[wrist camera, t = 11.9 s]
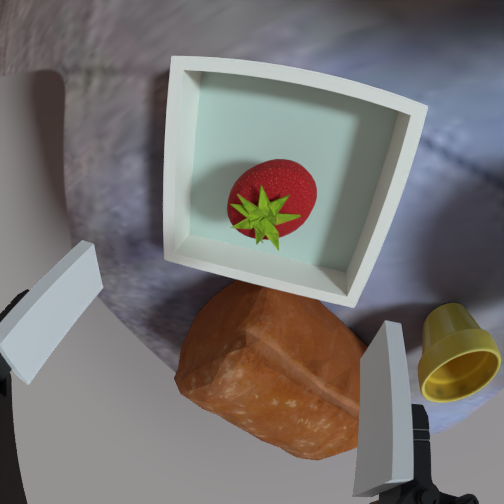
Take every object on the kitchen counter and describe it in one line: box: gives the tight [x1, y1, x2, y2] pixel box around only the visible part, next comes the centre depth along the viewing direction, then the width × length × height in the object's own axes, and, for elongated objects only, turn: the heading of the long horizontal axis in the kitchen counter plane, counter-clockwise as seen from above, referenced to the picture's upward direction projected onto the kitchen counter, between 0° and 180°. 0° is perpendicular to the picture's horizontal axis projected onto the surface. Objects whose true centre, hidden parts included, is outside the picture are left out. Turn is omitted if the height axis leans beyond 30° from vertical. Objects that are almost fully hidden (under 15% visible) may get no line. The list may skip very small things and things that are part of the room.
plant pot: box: [418, 303, 501, 403], centre depth 29 cm, size 10×10×10 cm
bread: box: [174, 279, 368, 460], centre depth 35 cm, size 17×24×15 cm
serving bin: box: [163, 56, 428, 308], centre depth 26 cm, size 20×20×5 cm
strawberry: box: [227, 159, 317, 251], centre depth 24 cm, size 6×8×10 cm
